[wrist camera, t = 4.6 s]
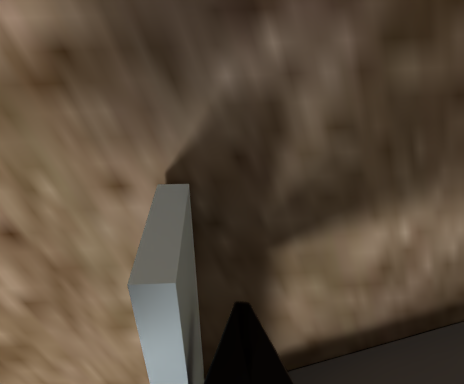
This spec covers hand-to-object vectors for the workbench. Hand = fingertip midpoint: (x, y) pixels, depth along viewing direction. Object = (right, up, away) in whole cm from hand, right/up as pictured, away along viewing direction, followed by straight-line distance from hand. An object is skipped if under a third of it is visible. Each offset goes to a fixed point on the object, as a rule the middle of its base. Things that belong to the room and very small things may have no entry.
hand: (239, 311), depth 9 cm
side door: (-2, -1, +2) cm, 3 cm away
